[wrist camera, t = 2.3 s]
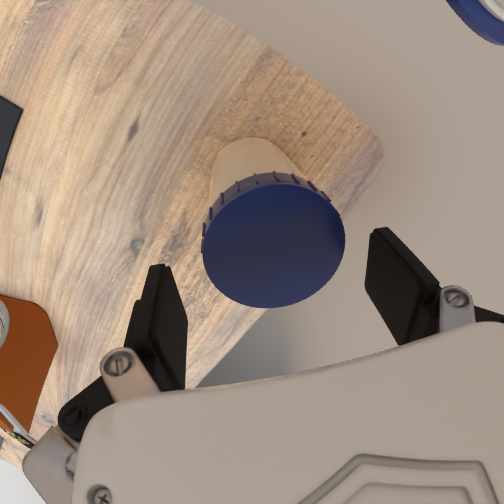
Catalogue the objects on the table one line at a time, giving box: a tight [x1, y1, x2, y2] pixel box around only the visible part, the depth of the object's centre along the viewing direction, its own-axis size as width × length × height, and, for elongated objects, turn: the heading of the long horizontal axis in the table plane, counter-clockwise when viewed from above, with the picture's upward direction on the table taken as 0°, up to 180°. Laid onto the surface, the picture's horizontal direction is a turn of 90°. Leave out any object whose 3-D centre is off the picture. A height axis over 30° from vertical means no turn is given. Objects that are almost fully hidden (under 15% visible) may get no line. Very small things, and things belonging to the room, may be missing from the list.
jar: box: [208, 137, 308, 213], centre depth 18 cm, size 6×6×10 cm
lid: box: [201, 171, 345, 308], centre depth 14 cm, size 6×6×2 cm
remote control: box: [0, 427, 37, 449], centre depth 47 cm, size 6×13×2 cm, turn 16°
